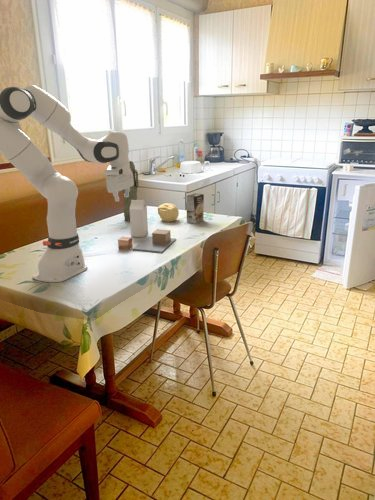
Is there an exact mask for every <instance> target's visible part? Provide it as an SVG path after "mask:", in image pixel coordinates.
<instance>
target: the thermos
mask: <svg viewBox="0 0 375 500" xmlns="http://www.w3.org/2000/svg"><path fill="white" fill-rule="evenodd" d="M129 163H130V169H131V171H132V173H133V179H134V185H133V186H131V187H130V191H129V197H124V193H125V189H124V190H121V192H122V193H123V206H124V208H123V217H124V221H125V222H130V205H131V200H138V195H137V193H138V188H139V173H138V170H137V169H136V166H135V162H134V161H132V160H131V161H130V160H129Z"/></svg>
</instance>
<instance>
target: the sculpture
mask: <svg viewBox="0 0 375 500" xmlns="http://www.w3.org/2000/svg"><path fill="white" fill-rule="evenodd" d="M179 213H180V212H179V209H178V207H177V206H176V204H174V203H170V202H168V203H167V202H165V203H162V204H160V205H158V206H157V214H158V216H159V217H160V219H161V220H162V222H167V223H171V222H174V221H176V220H177V219H179V215H180V214H179Z"/></svg>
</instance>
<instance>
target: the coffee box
mask: <svg viewBox="0 0 375 500" xmlns="http://www.w3.org/2000/svg"><path fill="white" fill-rule="evenodd" d="M204 196H205V195H204V193H203V194H202V193H192V194H189V195H186V223H189V224H190V223H191V224H194V225H196V224H198V223H201V222H203V221H204V214H205V212H204V211H205V209H204V208H205V207H204V206H205V205H204V200H205V199H204V198H205V197H204Z"/></svg>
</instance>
